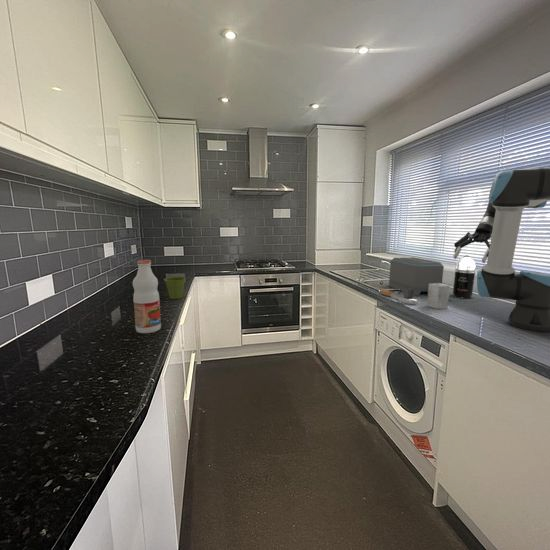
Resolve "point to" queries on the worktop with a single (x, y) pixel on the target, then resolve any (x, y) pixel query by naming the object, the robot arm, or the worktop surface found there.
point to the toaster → (414, 274)
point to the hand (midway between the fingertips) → (468, 259)
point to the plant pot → (175, 287)
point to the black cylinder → (464, 277)
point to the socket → (438, 295)
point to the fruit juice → (146, 299)
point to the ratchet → (404, 299)
